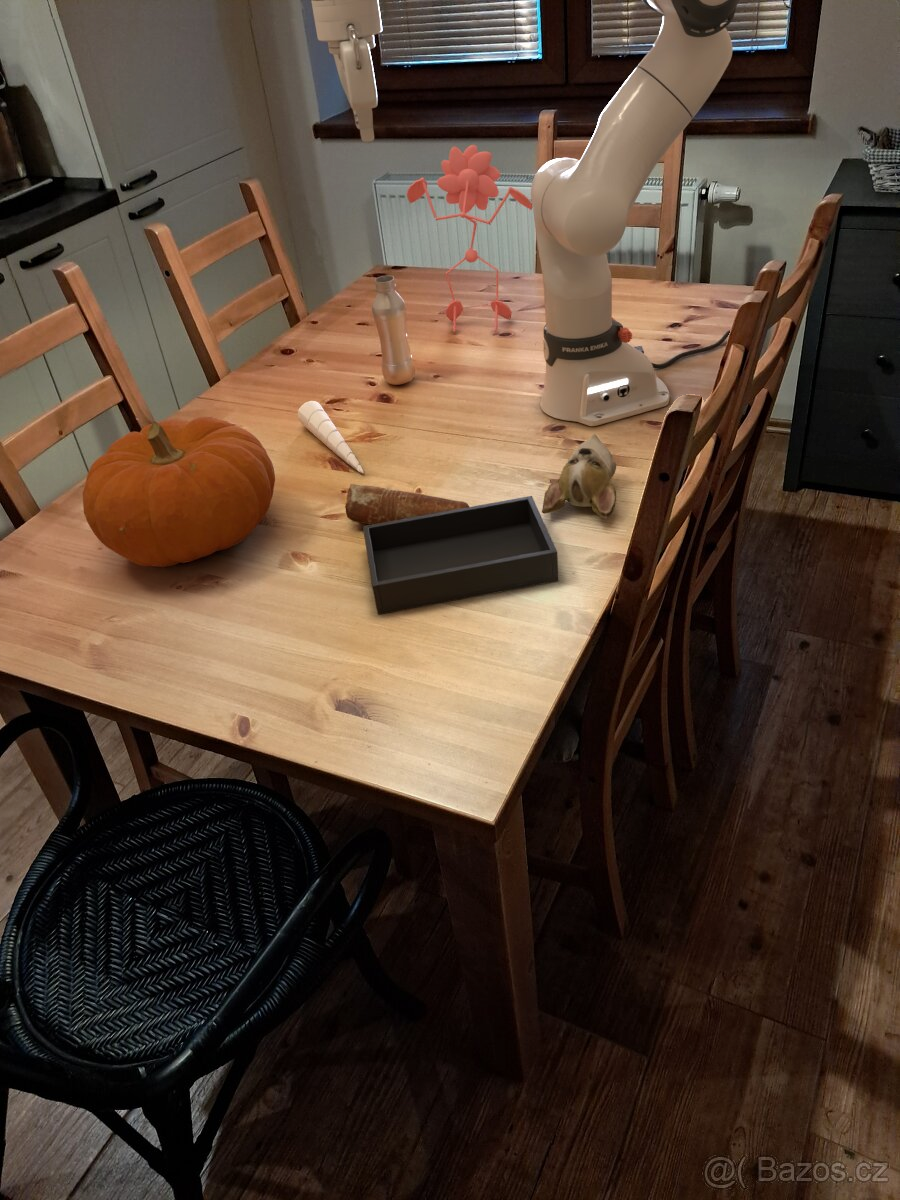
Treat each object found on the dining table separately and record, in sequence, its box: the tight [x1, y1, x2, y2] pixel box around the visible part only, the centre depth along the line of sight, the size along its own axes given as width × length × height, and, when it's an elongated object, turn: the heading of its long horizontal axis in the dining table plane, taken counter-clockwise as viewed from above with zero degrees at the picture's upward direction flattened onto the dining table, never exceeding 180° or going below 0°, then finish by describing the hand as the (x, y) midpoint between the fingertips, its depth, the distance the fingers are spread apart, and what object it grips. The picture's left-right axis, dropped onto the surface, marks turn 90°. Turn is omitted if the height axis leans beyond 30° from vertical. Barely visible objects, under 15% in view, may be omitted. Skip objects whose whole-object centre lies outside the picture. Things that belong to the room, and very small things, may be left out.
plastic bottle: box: [371, 275, 416, 385], centre depth 171 cm, size 6×7×20 cm
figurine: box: [406, 144, 533, 333], centre depth 186 cm, size 15×26×35 cm, turn 75°
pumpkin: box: [82, 416, 276, 568], centre depth 134 cm, size 28×28×20 cm
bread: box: [344, 483, 470, 525], centre depth 135 cm, size 6×19×6 cm, turn 73°
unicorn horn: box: [297, 400, 365, 474], centre depth 157 cm, size 5×24×5 cm, turn 25°
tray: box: [362, 495, 559, 615], centre depth 125 cm, size 25×15×5 cm, turn 99°
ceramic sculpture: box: [541, 433, 617, 520], centre depth 134 cm, size 11×9×15 cm
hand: (365, 134), depth 130 cm, fingers open, 8 cm apart
